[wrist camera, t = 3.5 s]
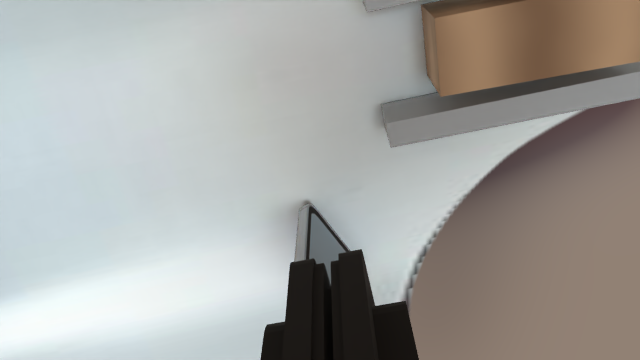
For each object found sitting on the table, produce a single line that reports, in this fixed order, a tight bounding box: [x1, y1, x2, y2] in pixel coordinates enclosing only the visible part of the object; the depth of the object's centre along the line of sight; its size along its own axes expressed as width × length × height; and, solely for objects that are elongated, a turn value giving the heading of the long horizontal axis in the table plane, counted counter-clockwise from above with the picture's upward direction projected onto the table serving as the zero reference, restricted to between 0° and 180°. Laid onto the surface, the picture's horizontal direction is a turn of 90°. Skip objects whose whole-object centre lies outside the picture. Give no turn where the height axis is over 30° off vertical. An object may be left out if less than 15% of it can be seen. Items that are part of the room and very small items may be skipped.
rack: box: [363, 0, 640, 147], centre depth 26 cm, size 16×9×3 cm, turn 103°
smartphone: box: [294, 204, 350, 284], centre depth 28 cm, size 7×1×15 cm, turn 34°
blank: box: [421, 0, 640, 97], centre depth 25 cm, size 10×4×4 cm, turn 101°
